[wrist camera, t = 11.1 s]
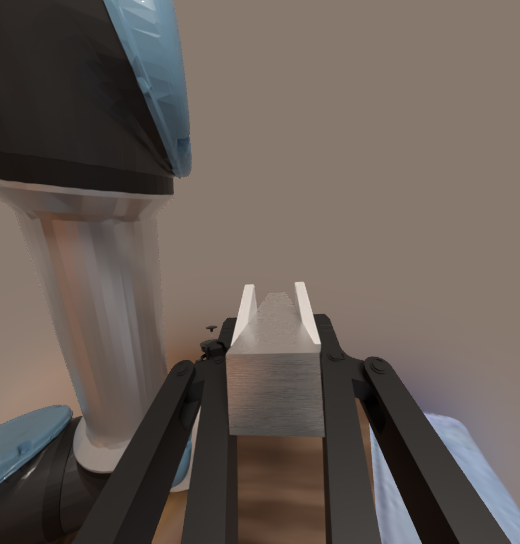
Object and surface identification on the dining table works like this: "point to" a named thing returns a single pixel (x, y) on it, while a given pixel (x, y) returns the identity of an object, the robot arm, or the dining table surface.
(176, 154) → the robot arm
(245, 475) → the walnut stand
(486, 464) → the dining table surface
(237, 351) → the metal bar
